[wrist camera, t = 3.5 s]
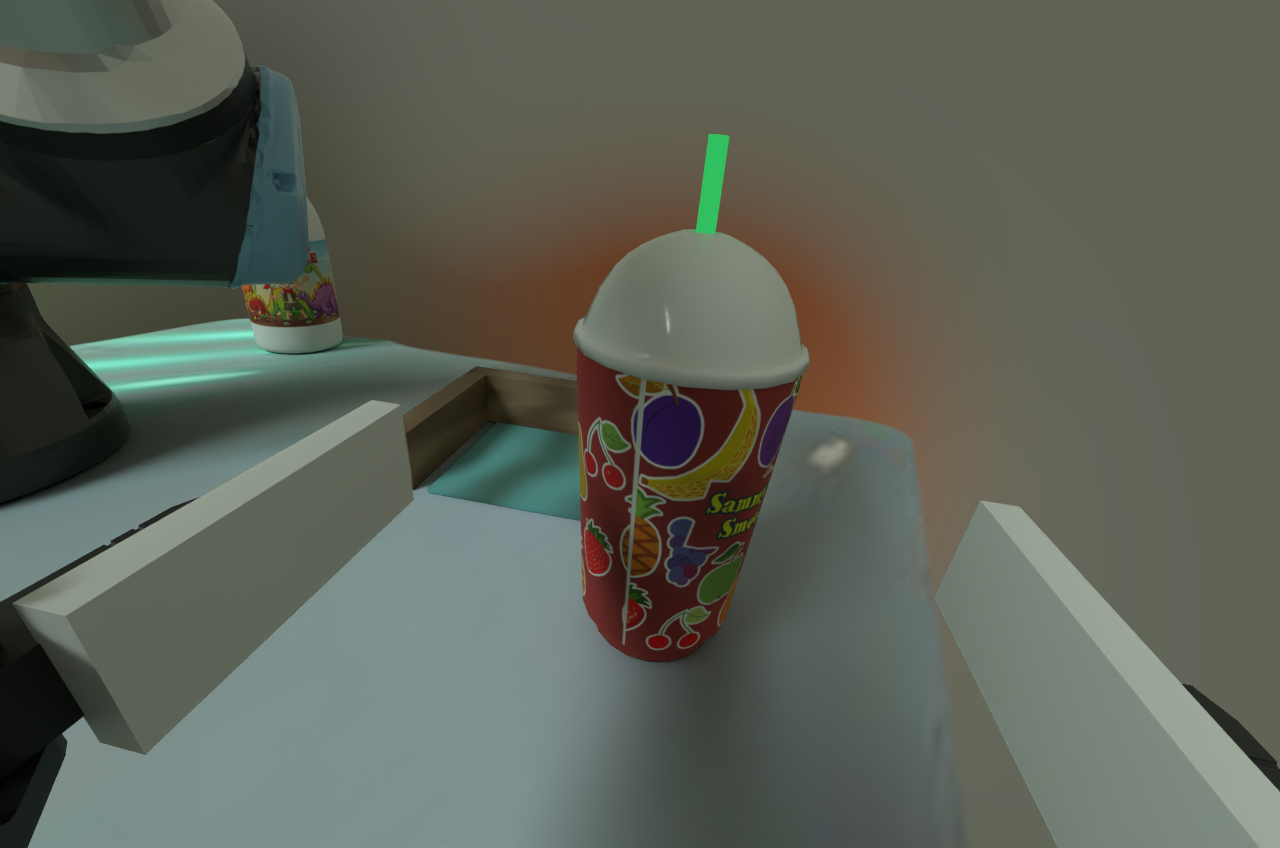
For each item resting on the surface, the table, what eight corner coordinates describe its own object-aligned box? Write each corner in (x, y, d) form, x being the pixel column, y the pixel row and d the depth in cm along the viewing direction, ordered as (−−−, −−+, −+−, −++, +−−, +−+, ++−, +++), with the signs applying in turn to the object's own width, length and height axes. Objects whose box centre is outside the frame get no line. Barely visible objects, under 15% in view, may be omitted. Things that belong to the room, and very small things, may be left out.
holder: (391, 485, 31) (382, 429, 29) (479, 411, 42) (476, 366, 40) (623, 528, 29) (629, 471, 28) (653, 439, 40) (658, 393, 38)
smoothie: (729, 720, 19) (888, 128, 11) (533, 658, 21) (531, 103, 12) (745, 576, 27) (847, 157, 18) (599, 539, 28) (627, 139, 20)
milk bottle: (248, 339, 52) (191, 119, 43) (330, 330, 57) (293, 132, 49) (268, 360, 47) (208, 118, 39) (354, 348, 53) (319, 132, 44)
